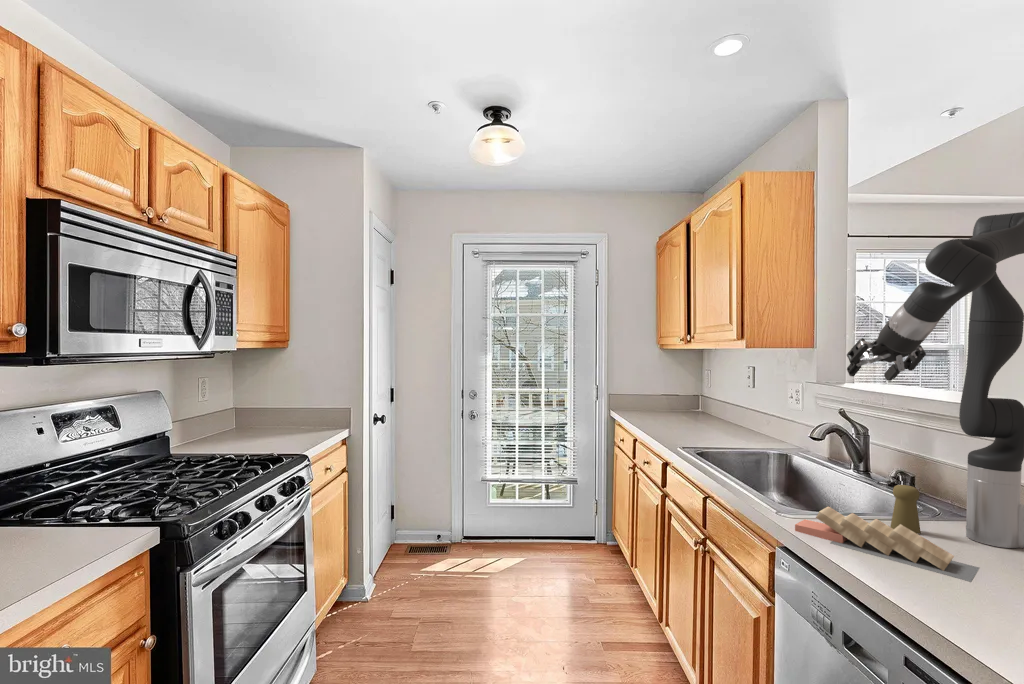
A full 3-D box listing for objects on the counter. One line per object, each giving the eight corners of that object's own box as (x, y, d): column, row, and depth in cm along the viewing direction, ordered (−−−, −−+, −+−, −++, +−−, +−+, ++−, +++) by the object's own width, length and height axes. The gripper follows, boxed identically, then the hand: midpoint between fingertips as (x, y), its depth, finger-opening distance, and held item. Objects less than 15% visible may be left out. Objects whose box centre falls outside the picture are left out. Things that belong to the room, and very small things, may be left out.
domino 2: (873, 534, 117) (828, 506, 124) (865, 540, 113) (819, 511, 120) (869, 540, 118) (824, 512, 125) (861, 547, 114) (815, 517, 121)
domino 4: (926, 549, 110) (876, 518, 117) (920, 556, 106) (867, 524, 113) (922, 555, 111) (872, 525, 117) (915, 563, 107) (863, 531, 114)
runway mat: (979, 569, 105) (979, 567, 105) (970, 583, 99) (970, 581, 99) (844, 534, 123) (844, 533, 123) (829, 544, 117) (829, 543, 117)
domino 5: (954, 556, 107) (900, 524, 114) (948, 563, 103) (892, 530, 110) (949, 562, 107) (896, 530, 114) (943, 570, 103) (888, 537, 110)
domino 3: (900, 542, 114) (852, 512, 120) (892, 549, 110) (843, 518, 116) (895, 548, 114) (848, 518, 121) (888, 555, 110) (839, 524, 117)
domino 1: (851, 529, 121) (804, 519, 128) (842, 535, 117) (794, 524, 124) (851, 537, 120) (804, 526, 128) (842, 543, 117) (795, 532, 124)
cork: (926, 536, 123) (927, 490, 123) (897, 534, 124) (898, 488, 124) (912, 527, 129) (913, 483, 129) (885, 525, 130) (885, 481, 130)
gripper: (935, 319, 114) (892, 368, 126) (868, 311, 115) (832, 360, 127) (951, 343, 109) (905, 391, 121) (881, 334, 110) (842, 384, 121)
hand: (868, 375), depth 124 cm, fingers open, 8 cm apart
